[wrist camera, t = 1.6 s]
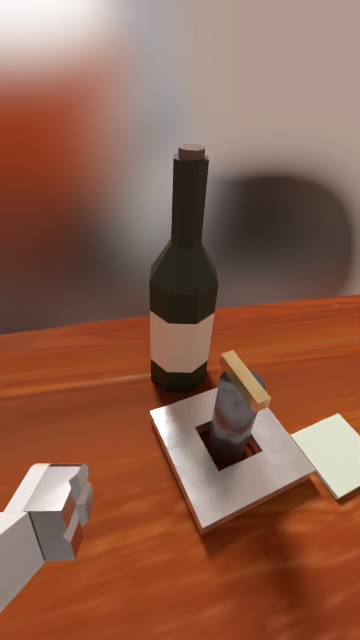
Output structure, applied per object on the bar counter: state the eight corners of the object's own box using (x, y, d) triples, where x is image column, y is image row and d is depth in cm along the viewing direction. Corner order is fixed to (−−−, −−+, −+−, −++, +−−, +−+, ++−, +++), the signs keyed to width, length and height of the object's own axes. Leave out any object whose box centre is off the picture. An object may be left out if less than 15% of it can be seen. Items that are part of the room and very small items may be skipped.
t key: (197, 432, 41) (207, 358, 33) (227, 420, 43) (245, 346, 34) (223, 479, 37) (243, 409, 28) (255, 464, 38) (284, 392, 30)
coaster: (289, 437, 41) (290, 435, 41) (336, 415, 44) (338, 413, 44) (336, 500, 36) (338, 497, 35) (387, 470, 38) (390, 468, 38)
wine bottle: (164, 344, 53) (167, 132, 33) (213, 360, 51) (248, 144, 31) (139, 382, 47) (127, 150, 27) (194, 402, 45) (223, 166, 25)
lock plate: (150, 420, 42) (150, 411, 41) (242, 386, 47) (245, 377, 46) (200, 535, 33) (202, 528, 31) (310, 478, 37) (315, 469, 36)
